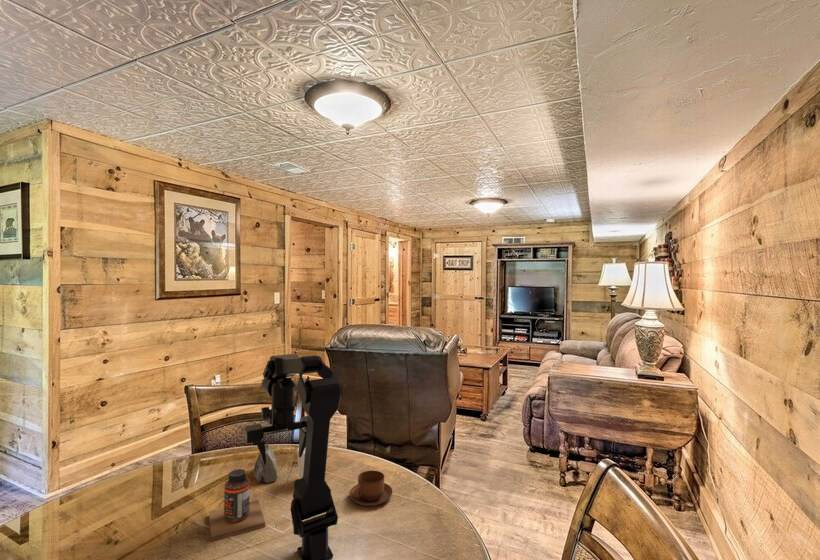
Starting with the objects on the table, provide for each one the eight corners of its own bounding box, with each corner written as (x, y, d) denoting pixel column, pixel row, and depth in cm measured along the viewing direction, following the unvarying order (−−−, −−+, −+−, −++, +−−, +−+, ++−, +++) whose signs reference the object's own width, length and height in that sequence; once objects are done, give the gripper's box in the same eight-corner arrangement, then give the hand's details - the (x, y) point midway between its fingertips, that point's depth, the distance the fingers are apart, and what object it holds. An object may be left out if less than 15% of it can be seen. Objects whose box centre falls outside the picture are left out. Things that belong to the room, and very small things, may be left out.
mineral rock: (264, 464, 135) (264, 433, 135) (294, 466, 133) (294, 436, 133) (240, 482, 122) (241, 449, 122) (273, 485, 120) (273, 451, 120)
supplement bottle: (218, 519, 101) (219, 474, 101) (238, 508, 106) (239, 464, 106) (234, 526, 98) (235, 479, 98) (254, 514, 103) (255, 469, 103)
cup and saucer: (382, 513, 106) (382, 490, 106) (341, 505, 110) (341, 482, 110) (398, 491, 117) (398, 470, 117) (361, 485, 121) (361, 464, 121)
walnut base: (265, 526, 100) (265, 522, 100) (211, 541, 94) (211, 536, 94) (258, 503, 110) (258, 499, 110) (209, 515, 104) (209, 511, 104)
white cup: (317, 488, 118) (317, 454, 119) (292, 485, 120) (292, 452, 120) (327, 476, 126) (328, 444, 126) (304, 473, 128) (304, 442, 128)
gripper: (309, 390, 120) (308, 443, 119) (241, 399, 110) (240, 456, 110) (320, 399, 110) (320, 457, 110) (247, 410, 101) (247, 473, 100)
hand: (282, 460), depth 108 cm, fingers open, 9 cm apart
